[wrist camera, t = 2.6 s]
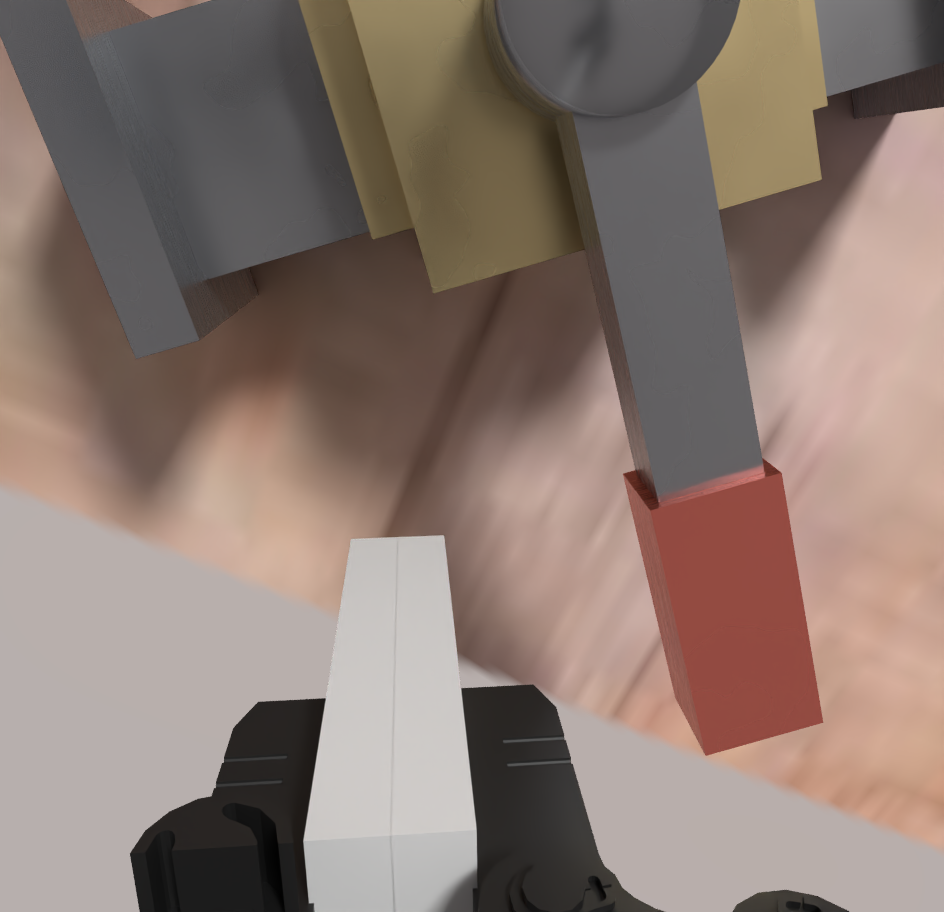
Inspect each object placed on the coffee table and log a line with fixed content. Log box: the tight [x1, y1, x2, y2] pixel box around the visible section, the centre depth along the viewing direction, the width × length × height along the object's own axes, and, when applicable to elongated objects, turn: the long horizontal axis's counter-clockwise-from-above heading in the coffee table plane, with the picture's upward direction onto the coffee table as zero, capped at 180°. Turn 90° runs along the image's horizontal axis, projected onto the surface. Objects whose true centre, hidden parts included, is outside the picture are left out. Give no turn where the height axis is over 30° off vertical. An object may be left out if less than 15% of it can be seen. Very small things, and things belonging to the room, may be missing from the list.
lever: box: [483, 0, 823, 756], centre depth 14 cm, size 14×3×2 cm, turn 16°
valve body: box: [0, 0, 944, 359], centre depth 17 cm, size 7×18×7 cm, turn 106°
